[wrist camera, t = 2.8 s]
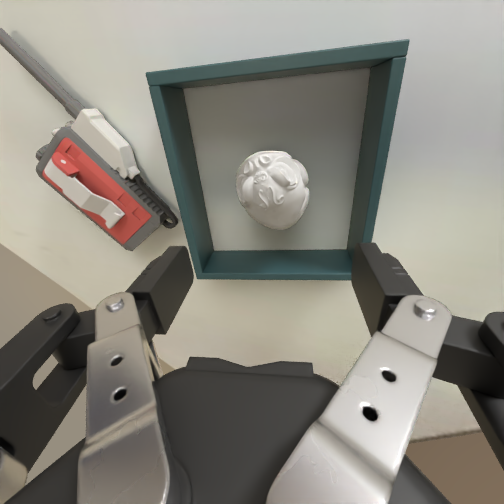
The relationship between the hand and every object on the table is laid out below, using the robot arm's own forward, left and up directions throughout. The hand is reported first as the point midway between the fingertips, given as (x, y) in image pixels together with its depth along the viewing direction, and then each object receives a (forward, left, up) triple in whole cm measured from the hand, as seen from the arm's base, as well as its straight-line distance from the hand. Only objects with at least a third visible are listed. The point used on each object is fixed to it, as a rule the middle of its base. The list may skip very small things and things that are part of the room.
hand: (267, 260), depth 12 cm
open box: (0, 0, -14) cm, 14 cm away
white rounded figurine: (0, 0, -14) cm, 14 cm away
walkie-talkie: (-3, -18, -14) cm, 23 cm away
